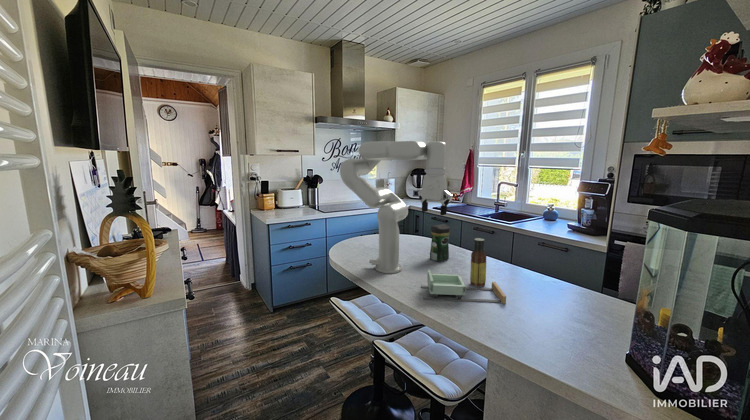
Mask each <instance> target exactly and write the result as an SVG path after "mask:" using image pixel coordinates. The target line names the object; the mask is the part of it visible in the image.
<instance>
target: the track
mask: <svg viewBox="0 0 750 420" xmlns="http://www.w3.org/2000/svg"><path fill="white" fill-rule="evenodd" d="M420 289H429V287H428V285H420ZM466 291H480V292H481V291H485V292H486V291H487V292H493V293H494V294H495V296H496V297H497V299H484V298H464V297H462V298H461V299H458V298H457V297H444V296H443V297H441V296H440V297H437V298H434V297H433V296H422V300H424V301H425V300H427V301H447V302H449V301H450V302H466V303H467V302H470V303H473V302H474V303H494V304H502V305H506V303H507V295H506V294H505V293H504V291H503V290H502V289H501V288H500V286H499V285H498V284H497V282H496V281H492V282H491V287H490V288H489V287H471V286H470V287H467V286H466Z"/></svg>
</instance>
